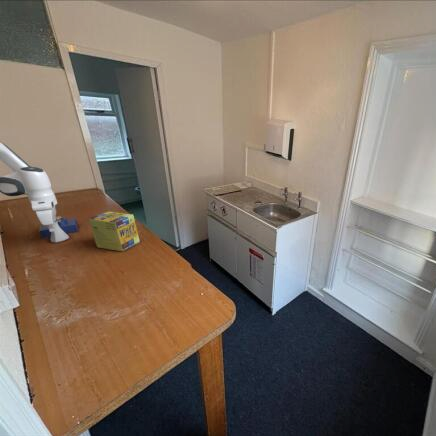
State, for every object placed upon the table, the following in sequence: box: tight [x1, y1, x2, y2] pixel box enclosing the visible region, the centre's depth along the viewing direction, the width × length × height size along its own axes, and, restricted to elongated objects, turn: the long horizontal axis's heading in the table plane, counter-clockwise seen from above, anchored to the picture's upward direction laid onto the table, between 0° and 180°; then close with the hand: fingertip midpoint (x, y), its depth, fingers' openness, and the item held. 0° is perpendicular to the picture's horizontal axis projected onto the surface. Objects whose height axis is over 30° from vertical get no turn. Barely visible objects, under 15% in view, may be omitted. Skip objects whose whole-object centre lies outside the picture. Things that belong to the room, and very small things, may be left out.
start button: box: [55, 215, 63, 221], centre depth 127 cm, size 4×4×2 cm
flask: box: [50, 221, 70, 243], centre depth 118 cm, size 7×7×10 cm
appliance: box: [39, 217, 79, 239], centre depth 127 cm, size 14×11×6 cm
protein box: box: [87, 211, 140, 252], centre depth 114 cm, size 10×15×16 cm
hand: (53, 227), depth 116 cm, fingers open, 8 cm apart
